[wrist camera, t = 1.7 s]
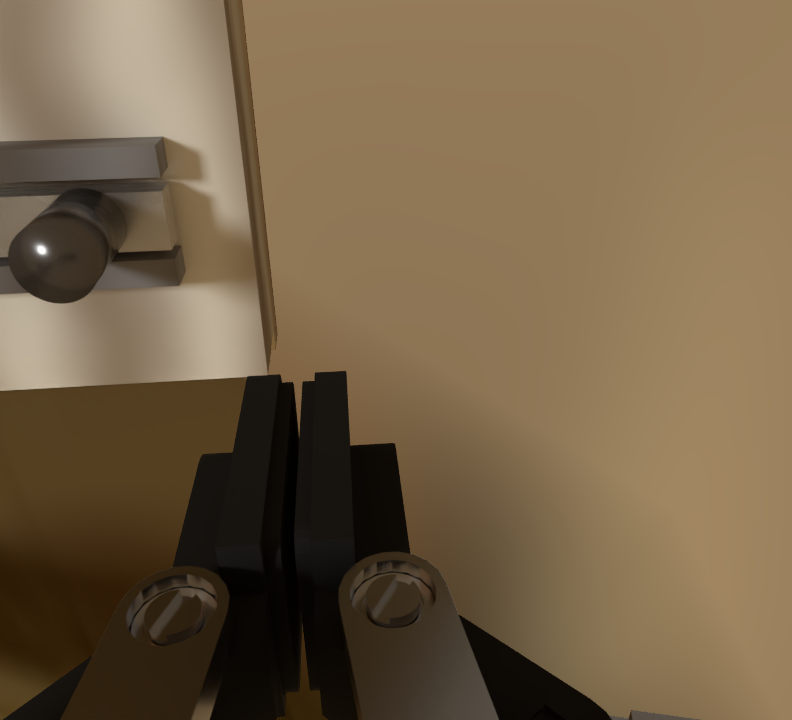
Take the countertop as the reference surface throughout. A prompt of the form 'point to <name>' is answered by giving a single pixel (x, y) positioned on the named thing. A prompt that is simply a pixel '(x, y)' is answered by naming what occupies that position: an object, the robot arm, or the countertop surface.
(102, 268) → the bolt
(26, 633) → the countertop surface
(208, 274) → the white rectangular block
